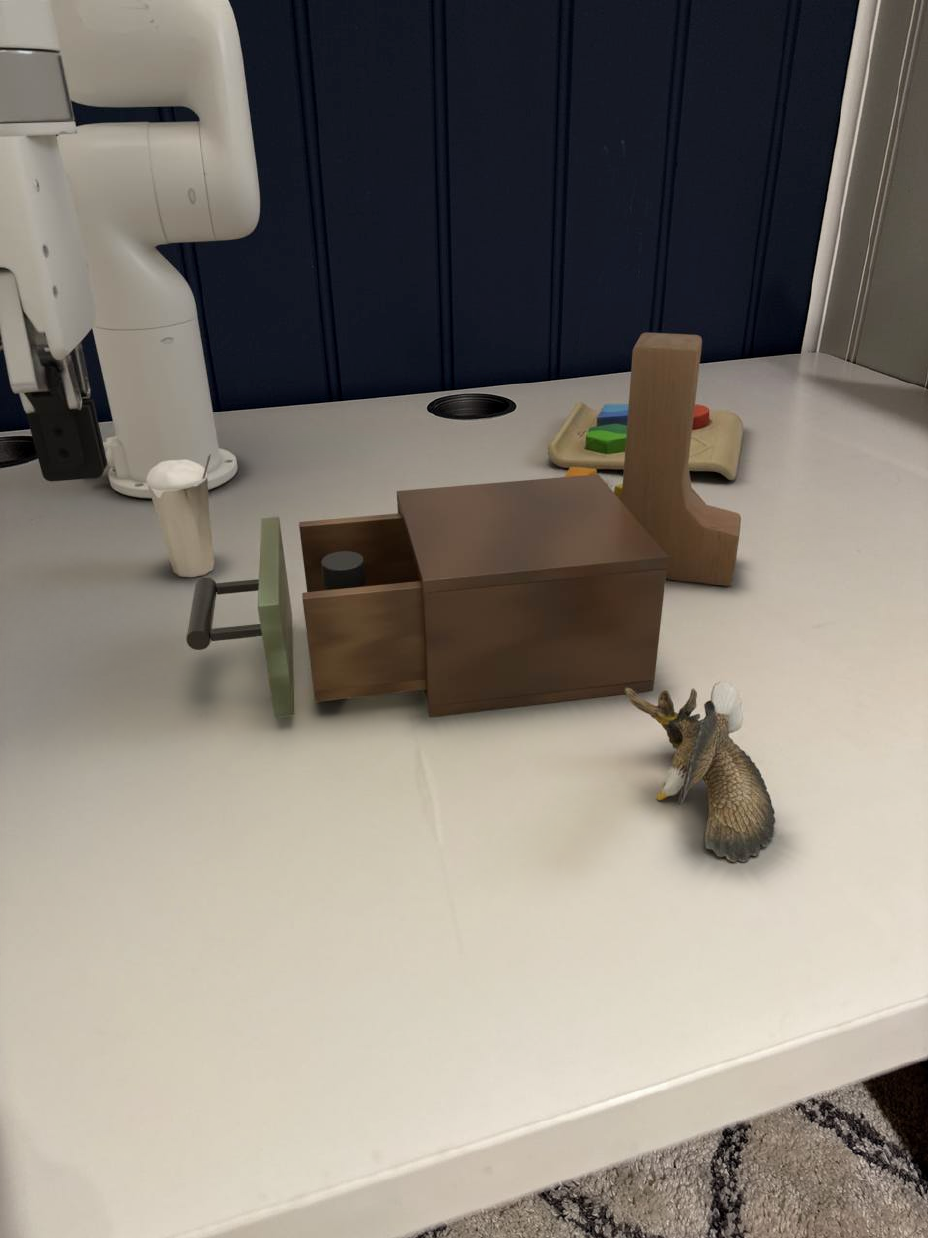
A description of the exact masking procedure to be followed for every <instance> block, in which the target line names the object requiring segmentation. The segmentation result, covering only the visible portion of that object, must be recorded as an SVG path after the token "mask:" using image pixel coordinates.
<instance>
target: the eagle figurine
mask: <svg viewBox="0 0 928 1238" xmlns="http://www.w3.org/2000/svg"><path fill="white" fill-rule="evenodd" d="M624 691H625V693H624V694H626V697H627V698H628V699H629V701H630V702H631V704H632V705H633V706H634V707H635V708H637V710H640V711H642V712H643V713H646V714H648V715H649V716H650V717H651V718H653V719H654V720H655V721H657V723H658V724H660V725H661V726H662V728H663V729H664V730H665V732H666V736H667V738H668V742H669V743H670V744H671V745H672V748H673V749H675V750H676V751H675V753H674V755H673V757H672V759H671V764H670V767H669V769H668V772H667V774H666V776H665V778H664V781H663V784H662V787H661V790H660V792H659V794H657V795H656V797H655V798H656V800H658V801H661V800H664V799H665V798H667V797H672V796H675V795H676V794H677V793H679V791H680V790H681V792H680V794H679V796H678V797H679V798H678V801H677V803H678V806H680V807H681V806H682V805H683V803H684V802H685V801H686V796H687V793H688V792H689V790H690V789H691V788H692V787H693V786H695V785H697V783H699V782H700V781H701V780H702V782H703V783H704V785H705V788H706V795H707V804H708V815H707V820H706V824H705V831H704V832H705V833H704V848H705V849H707V850H711V851H713V852H714V854H715V856H717V857H719V858H722V857H725V858H726V859H727V861H729V862H731V863H736V862H737V861H739V862H741V863H746V862H748V861H749V858H750V856H751V857H752V856H753V857H756V856H758V855H759V853H760V850H761V847H763V848H766V847H767V846H768V840H771V839H772V838H773V836H774V832H775V826H774V825H775V824H776V818H775V813H776V812H775V809H774V807H773V804H772V803H773V802H772V799H771V795H770V793H769V791H768V787H767V786H766V783H765V779H764V778H763V777H762V773H761V771H760V770H759V768H758V767H757V765H756V763H755V762H754V761H752V759H751V757H750V756H749V755H748V754H747V753H746V751H744V750H743V749H741V747H740V746H739V745H738V744H736V743H735V742H734V740H733V738H730V734H731V733H734V732H737V731H739V730H740V729H741V728H742V727H743V726H742V725H743V721H744V715H743V709H742V703H743V702H742V699H741V697H740V693H739V690H738V689H737V688H736V687H735V686H734V685H733V684H732V683H729V682H727V681H717V682H715V683H714V685H713V687H712V690H711V692H710V693H711V695H710V700H707V701H706V702H705V703H704V704H703V707H704V714H705V716H704V718H701V714H700V713H697V714H694V715H693V714H692V712H694V711H695V709H696V708H697V697H698V692H697V690H696V689H695V688H691V689H690V694H689V698H688V699H687V701H686V703H685V704H684V705H683V706H682V707H681V708H680V709H679V711H678V712H675V706H674V702H673V700H672V698H671V694H670V692H669V691H668V690H666V689H664V690H662V691H661V692H660V694H659V696H658V699H657V705H655V704H653V703H651V702H649V701H647V700H645V699H644V698H642V697H640V696H639V695H638V694H637V692H634V691H633V690H632V689H630V688H627V687H626V688H625V689H624ZM700 718H701V719H700ZM760 846H761V847H760Z"/></svg>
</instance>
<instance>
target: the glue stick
mask: <svg viewBox="0 0 928 1238" xmlns="http://www.w3.org/2000/svg"><path fill="white" fill-rule="evenodd" d="M321 567H322V576H323V584H324V587H325V590H335V589H346V588H356V587H365V567H364V558H363V557H362V556H361V555H360V554H358V553H356V552H350V551H340V552H335V553H331V554H329V555H327V556H325V557H324V558H323V559H322V561H321Z"/></svg>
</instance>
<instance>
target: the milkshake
mask: <svg viewBox="0 0 928 1238" xmlns="http://www.w3.org/2000/svg"><path fill="white" fill-rule="evenodd" d="M210 456H211V454H210V455H208V458H207V462H206V466H205V469H204V468H203V467H202V466H201V465H199V464H198V463H195V462H192V461H190V460H169V461H163V462H161V463H159V464H158V465H156V466H155V467H153V468H152V469H151V470H150V472H149V474H148V476H147V479H146V480H147V485H148V488H149V491H150V494H151V497H152V498H151V500H152V504H153V506H154V510H155V513H156V516H157V520H158V522H159V523H158V524H159V526H160V530H161V533H162V537H163V540H164V543H165V547H166V550H167V555H168V558H169V561H170V564H171V568H172V571H173V573H174V574H175V575H176V576H178V577H181V578H191V579H192V578H196V577H201V576H205V575H207V574H208V573H210V572H212V571H213V570H214V567H215V557H214V545H213V534H212V525H211V524H212V522H211V513H210V500H209V498H210V497H209V496H210V495H209V490H208V480H207V468H208V464H209V460H210Z"/></svg>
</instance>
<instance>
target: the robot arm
mask: <svg viewBox="0 0 928 1238" xmlns="http://www.w3.org/2000/svg"><path fill="white" fill-rule="evenodd" d="M248 97H249V96H248V89H247V81H246V74H245V65H244V58H243V51H242V46H241V40H240V34H239V30H238V26H237V21H236V18H235V14H234V10H233V8H232V6H231V3H230V1H229V0H0V352H1V351H2V350H3V354H4V359H5V364H6V370H7V375H8V380H9V385H10V388H11V390H12V392H13V393H14V394H19V398H20V401H21V404H22V407H23V410H24V411H25V415H26V419H27V423H28V427H29V430H30V433H31V437H32V441H33V444H34V448H35V452H36V456H37V459H38V460H37V461H38V464H39V467H40V471H41V475H42V477H43V479H45V480H46V481H47V482H62V481H65V482H66V481H76V480H77V481H78V480H88V479H98V478H101V477H102V475H103V474H104V472H105V469H106V468H107V465H108V467H110V469H109V471H108V475H107V476H108V480H109V481H108V482H109V484H110V487H111V488H112V489H113V490H114V491H116V492H118V493H120V494H122V495H125V496H128V497H131V498H132V497H133V498H139V499H152V497H151V494H150V491H149V488H148V485H147V480H146V479H147V476H148V474H149V472H150V470H151V469H152V468H153V467H155V466H156V465H158V464H159V463H161V462H163V461H169V460H190V461H192V462H195V463H198V464H199V465H201V466H202V467H203V468H204V469H205V466H206V462H207V458H208V455H210V454H211V456H210V460H209V464H208V468H207V480H208V491H210V490H212V489H215V488H218V487H220V486H222V485H223V484H225V483H227V482H228V481H230V480H231V479H233V477H234V476H235V475H236V473H237V472H238V469H239V467H238V462H237V457H236V455H235V454H233V453H232V452H230V451H229V450H227V449H225V448H222V447H219V441H218V435H217V430H216V423H215V417H214V411H213V405H212V398H211V392H210V386H209V380H208V374H207V367H206V360H205V356H204V349H203V343H202V337H201V330H200V324H199V319H198V310H197V304H196V300H195V296H194V293H193V291H192V289H191V286H190V285H189V283H188V281H187V280H186V279H185V277H184V276H183V275H182V274H181V273H180V271H179V270H178V269H177V268H176V267H174V265H172V263H170V261H169V260H168V259H166V257H165V256H164V255H162V253H161V252H160V251H159V250H158V249H157V248H156V247H157V246H161V245H169V244H175V243H177V244H178V243H201V242H217V241H231V240H238V239H242V238H245V237H247V236H249V235H251V233H253V232H254V231H255V229H256V228H257V225H258V223H259V220H260V215H261V214H260V213H261V193H260V192H261V191H260V183H259V175H258V167H257V166H258V165H257V159H256V152H255V151H256V150H255V144H254V143H255V142H254V135H253V129H252V121H251V112H250V105H249V98H248ZM72 102H74V103H76V104H80V105H83V106H88V107H97V108H150V107H151V108H152V107H154V108H155V107H156V108H157V107H184V108H187V109H190V111H192V112H194V113H195V115H197V117H198V118H199V120H198V121H166V122H165V121H163V122H162V121H161V122H160V121H159V122H150V121H130V122H129V121H127V122H99V123H90V124H89V123H88V124H81V125H78V126H77V125H76V121H75V119H76V118H75V114H74V109H73V104H72ZM91 330H92V333H93V337H94V342H95V346H96V352H97V356H98V360H99V364H100V370H101V374H102V379H103V383H104V388H105V391H106V396H107V401H108V407H109V409H110V415H111V418H112V424H113V427H114V432H115V434H114V436H109V437H106V440H105V441H103V436H102V432H101V428H100V423H99V419H98V414H97V410H96V406H95V402H94V399H90V398H91V386H90V379H89V375H88V370H87V365H86V360H85V354H84V350H83V344H82V341H83V340H84V338H85V337H86V336H87V335H88V334H89V333H90V332H91Z"/></svg>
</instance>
